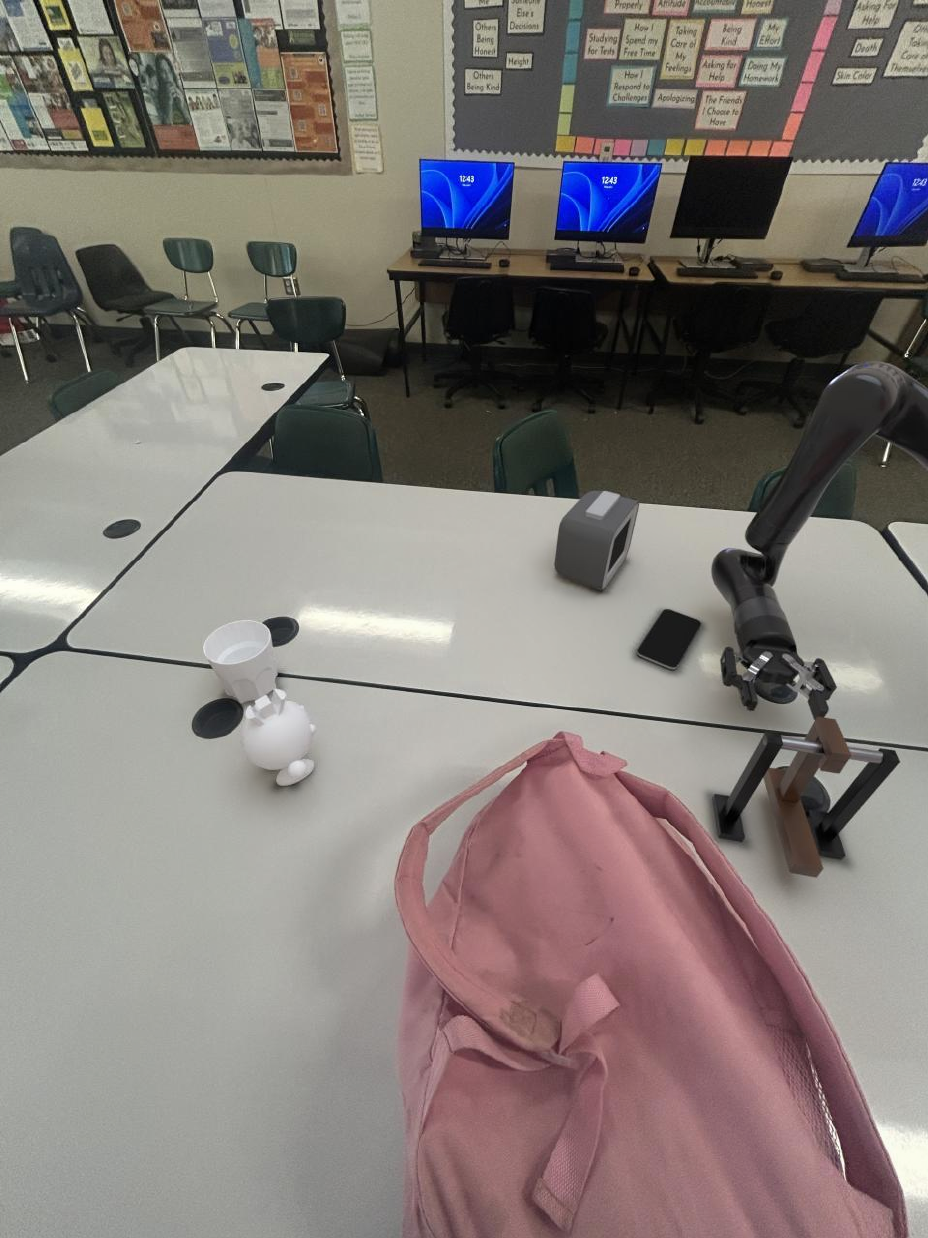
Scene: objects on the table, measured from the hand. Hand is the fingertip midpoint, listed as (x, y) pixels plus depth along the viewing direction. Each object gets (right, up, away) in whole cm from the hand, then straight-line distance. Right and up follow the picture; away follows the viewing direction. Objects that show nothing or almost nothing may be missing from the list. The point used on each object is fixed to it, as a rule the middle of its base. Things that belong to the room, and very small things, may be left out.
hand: (786, 712), depth 75 cm
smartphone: (-6, +9, +27) cm, 29 cm away
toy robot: (-69, -9, +6) cm, 70 cm away
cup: (-79, +1, +19) cm, 81 cm away
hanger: (-2, -13, -4) cm, 14 cm away
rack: (-2, -15, -1) cm, 15 cm away
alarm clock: (-17, +23, +44) cm, 52 cm away
